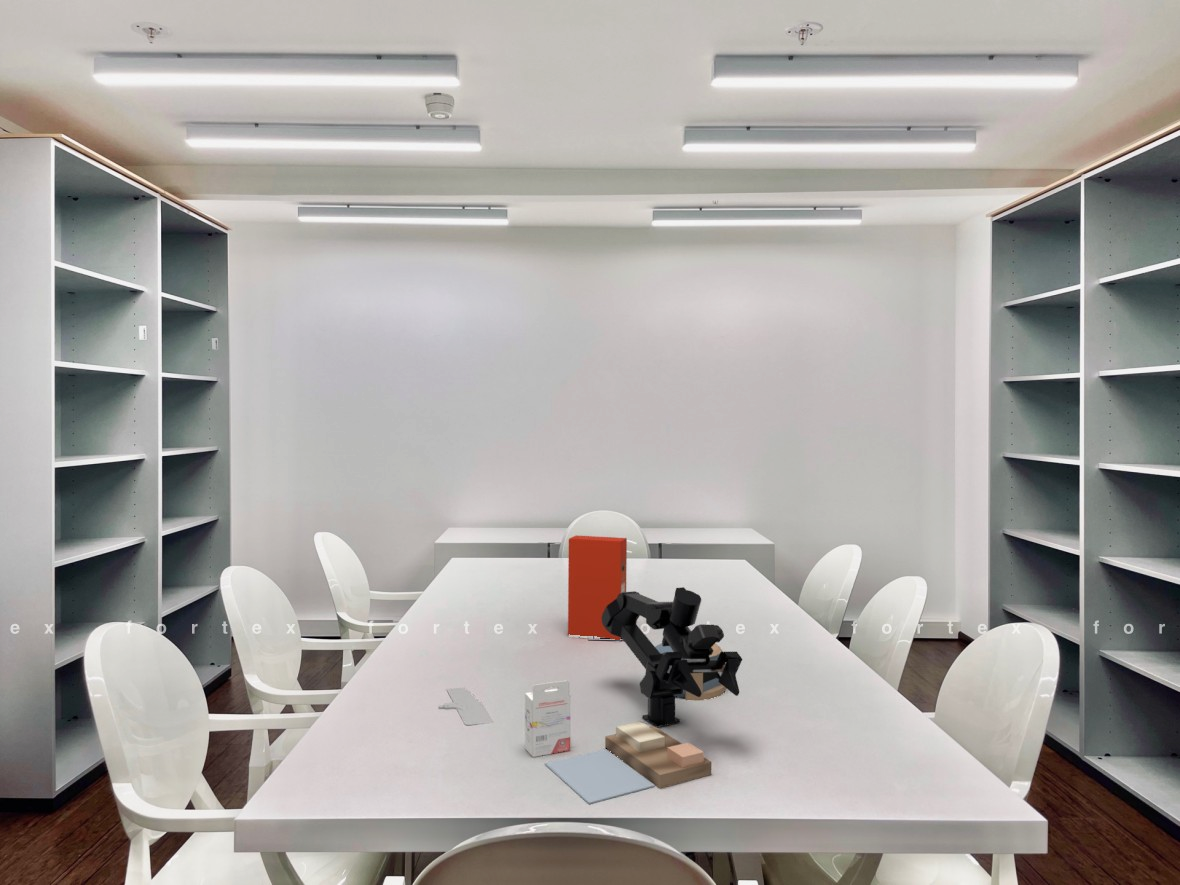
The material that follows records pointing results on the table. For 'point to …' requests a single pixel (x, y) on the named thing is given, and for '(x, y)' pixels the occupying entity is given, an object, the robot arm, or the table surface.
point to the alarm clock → (701, 678)
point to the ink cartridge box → (547, 719)
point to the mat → (598, 776)
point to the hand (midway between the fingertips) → (719, 694)
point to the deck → (657, 762)
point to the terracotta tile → (685, 755)
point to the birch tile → (640, 736)
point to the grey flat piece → (467, 707)
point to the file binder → (594, 582)
